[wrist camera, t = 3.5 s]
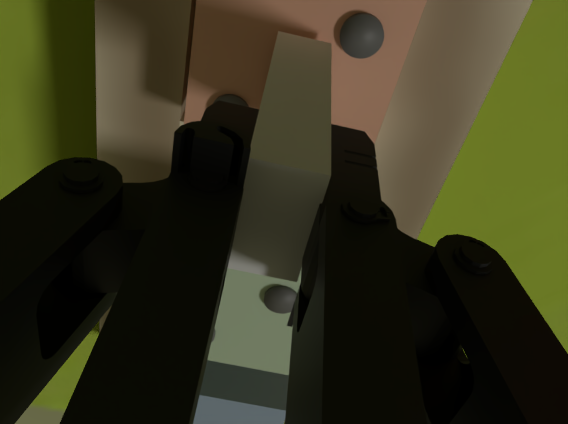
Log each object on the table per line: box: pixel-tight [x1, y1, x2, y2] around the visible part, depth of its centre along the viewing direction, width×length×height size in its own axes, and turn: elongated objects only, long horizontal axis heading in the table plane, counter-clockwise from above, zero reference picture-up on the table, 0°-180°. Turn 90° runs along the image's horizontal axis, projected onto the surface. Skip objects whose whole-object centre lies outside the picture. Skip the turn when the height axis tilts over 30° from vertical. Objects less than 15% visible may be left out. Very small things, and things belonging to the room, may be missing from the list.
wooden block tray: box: [95, 0, 533, 331], centre depth 24 cm, size 13×26×4 cm, turn 168°
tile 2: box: [207, 268, 302, 375], centre depth 20 cm, size 6×6×4 cm
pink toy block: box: [184, 0, 427, 144], centre depth 17 cm, size 6×6×4 cm
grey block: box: [193, 360, 289, 424], centre depth 26 cm, size 6×6×4 cm
